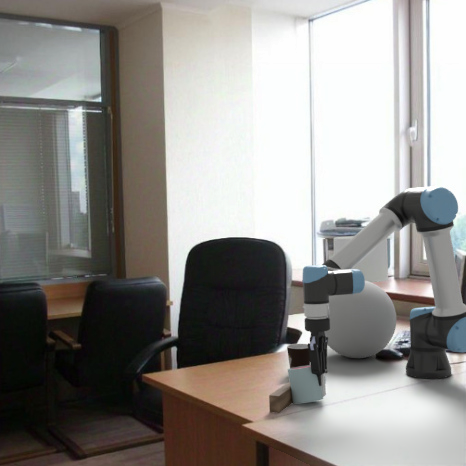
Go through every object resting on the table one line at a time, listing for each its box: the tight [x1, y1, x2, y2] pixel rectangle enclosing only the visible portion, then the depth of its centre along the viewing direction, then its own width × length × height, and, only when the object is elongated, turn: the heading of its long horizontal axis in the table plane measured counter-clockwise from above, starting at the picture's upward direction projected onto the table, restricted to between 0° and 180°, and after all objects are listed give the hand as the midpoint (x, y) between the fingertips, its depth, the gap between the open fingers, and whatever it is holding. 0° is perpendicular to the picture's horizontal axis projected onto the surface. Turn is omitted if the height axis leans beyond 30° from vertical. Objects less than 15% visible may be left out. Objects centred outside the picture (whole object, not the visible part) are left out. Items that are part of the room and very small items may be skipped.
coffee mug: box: [286, 343, 311, 369], centre depth 251 cm, size 12×9×10 cm
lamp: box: [333, 235, 389, 283], centre depth 307 cm, size 23×23×44 cm
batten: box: [268, 381, 294, 414], centre depth 217 cm, size 3×26×5 cm, turn 155°
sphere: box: [325, 281, 397, 359], centre depth 274 cm, size 30×30×30 cm
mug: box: [287, 364, 327, 404], centre depth 216 cm, size 14×9×10 cm
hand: (320, 395), depth 213 cm, fingers closed
